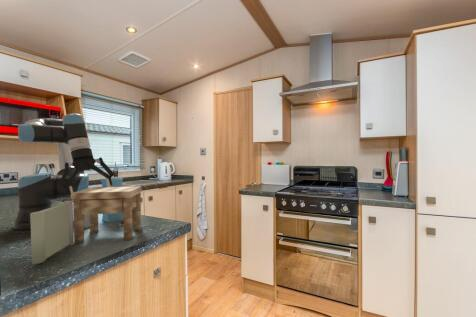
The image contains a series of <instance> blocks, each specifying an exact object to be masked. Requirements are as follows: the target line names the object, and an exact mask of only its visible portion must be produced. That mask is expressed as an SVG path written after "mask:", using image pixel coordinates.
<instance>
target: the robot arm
mask: <svg viewBox="0 0 476 317" xmlns="http://www.w3.org/2000/svg"><path fill="white" fill-rule="evenodd" d="M86 128H87V127H86V124H85V120H84V117H83V116H82V114H80V113H69V114H66V115H63V116H62V119H61V118H49V117H39V118H33V119H29V120H27V121H25V122H24V123H21V124H18V126H17V129H18V130H17V133H18V134H17V136H18V141H19V142H21V143H51V144H52V143H53V144H56V146H57V147H56V148H57V156H58V165H59V170H58V171H57V173H56V174H55V175H53V174H52V172H42V173H36V174H29V175H24V176H21V177H20V178H19V179H18V180H17V182H18V183H17V189H18V190H17V191H18V197H17V198H18V210H17V214H16V215H15V218H14V220H13V229H14V230H19V231H21V230H31V218H30V214H31V213H34V212H39V211H42V210H45V209H48V208H51V207H53V201H56V200H64V199H71V193H73V192H77V191H81V190H85V189H88V188H89V182H90V176H89V174H88V173H85V171H91V170H93V171H94V172H96V173H98V174H99V175H101V176H102V177H104V179H105V181H106V185H107V187H110V185H112V181H111V178H113V177H114V176H115V173H114V171H112V170H111V168H110V167H109V166H108V165H107V164H106V163H105V162H104V160H103V158H102V157H99V158H94V154H93V150H92V148H91V143H90V140H89V139H90V138H89V135H88V133H87V129H86ZM96 163H97V164H99V165H100V166H101V167H102V168H103V170H102V169H101V168H99V167H98V166H97V165H95V164H96ZM104 170H105V171H104ZM71 201H72V204H73V200H71Z"/></svg>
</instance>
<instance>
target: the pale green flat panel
mask: <svg viewBox="0 0 476 317" xmlns="http://www.w3.org/2000/svg"><path fill="white" fill-rule="evenodd" d="M30 218H31V229H30V249H31V251H30V252H31V255H30V256H31V264H32V265H37V264H41V263H44V262H45V261H46V260H47V259H48V258H49V257H51V256H52V255H54V254H55V253H57V252H59V251H61V250H62V249H64V248H66V247H67V246H72V245H73V244H74V209H73V203H72V200H70V199H69V200H64V201H63V203H60V204H58V205H55V206H52V207H51V208H48V209H45V210H42V211H39V212H34V213H31V214H30Z"/></svg>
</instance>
